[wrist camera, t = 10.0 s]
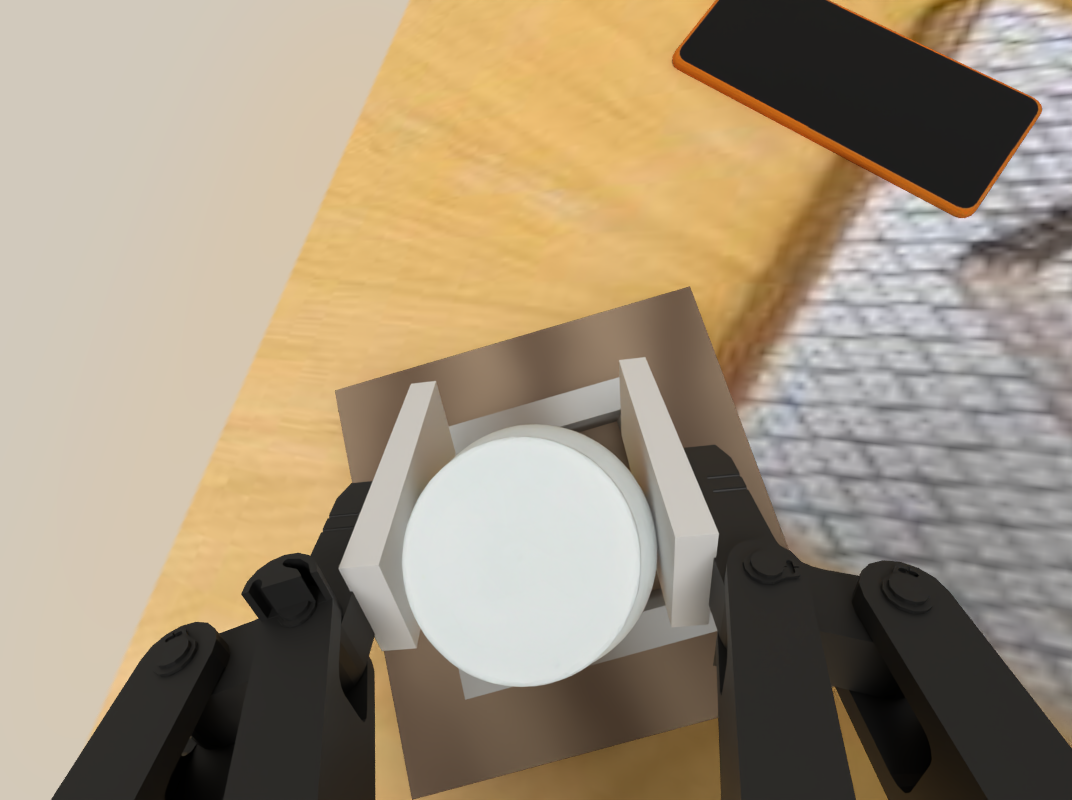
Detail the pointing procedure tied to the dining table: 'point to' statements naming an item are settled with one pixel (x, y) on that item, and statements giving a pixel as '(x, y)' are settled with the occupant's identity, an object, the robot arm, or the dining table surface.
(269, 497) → the dining table surface
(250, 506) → the dining table surface
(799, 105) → the smartphone
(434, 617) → the supplement bottle
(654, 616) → the square framed base tray
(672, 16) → the dining table surface
